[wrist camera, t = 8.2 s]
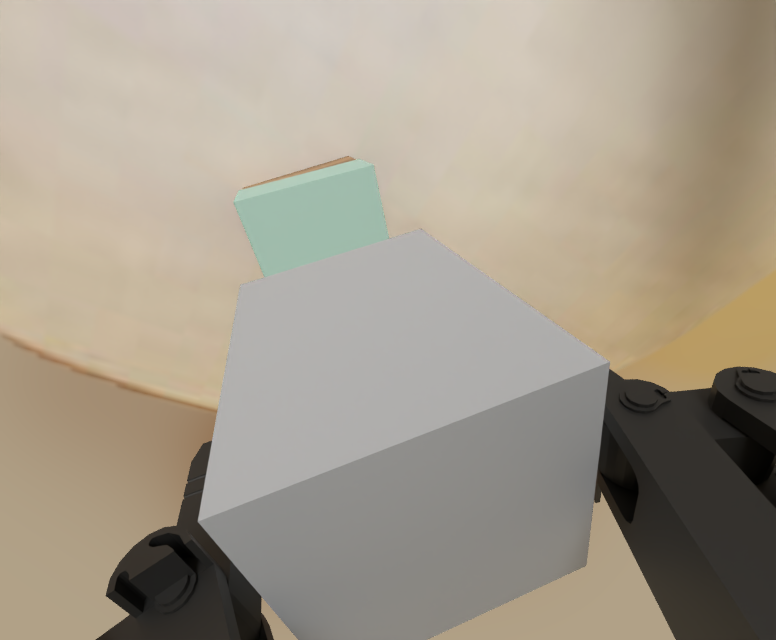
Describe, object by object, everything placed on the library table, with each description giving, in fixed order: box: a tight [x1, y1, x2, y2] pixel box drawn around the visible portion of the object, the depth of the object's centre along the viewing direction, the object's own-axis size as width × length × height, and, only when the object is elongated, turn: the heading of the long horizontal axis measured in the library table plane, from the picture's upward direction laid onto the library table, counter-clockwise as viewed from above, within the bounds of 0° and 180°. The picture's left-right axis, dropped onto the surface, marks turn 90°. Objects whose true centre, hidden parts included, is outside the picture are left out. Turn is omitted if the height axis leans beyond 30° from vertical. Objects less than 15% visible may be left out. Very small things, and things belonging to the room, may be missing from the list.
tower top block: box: [234, 159, 389, 277], centre depth 24 cm, size 8×8×4 cm
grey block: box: [198, 229, 610, 640], centre depth 10 cm, size 6×6×8 cm
